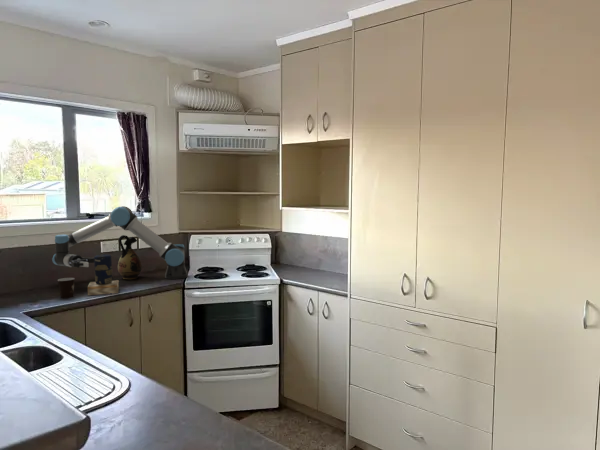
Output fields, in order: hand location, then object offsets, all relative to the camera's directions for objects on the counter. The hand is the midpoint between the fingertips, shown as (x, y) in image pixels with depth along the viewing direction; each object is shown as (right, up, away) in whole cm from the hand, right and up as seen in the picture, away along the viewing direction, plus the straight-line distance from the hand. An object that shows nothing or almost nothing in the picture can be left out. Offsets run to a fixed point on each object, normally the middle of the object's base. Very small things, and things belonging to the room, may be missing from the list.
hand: (97, 262), depth 267 cm
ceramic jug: (+4, -14, +39) cm, 42 cm away
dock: (+4, -17, 0) cm, 17 cm away
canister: (+4, -12, 0) cm, 13 cm away
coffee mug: (-12, -18, -10) cm, 24 cm away
